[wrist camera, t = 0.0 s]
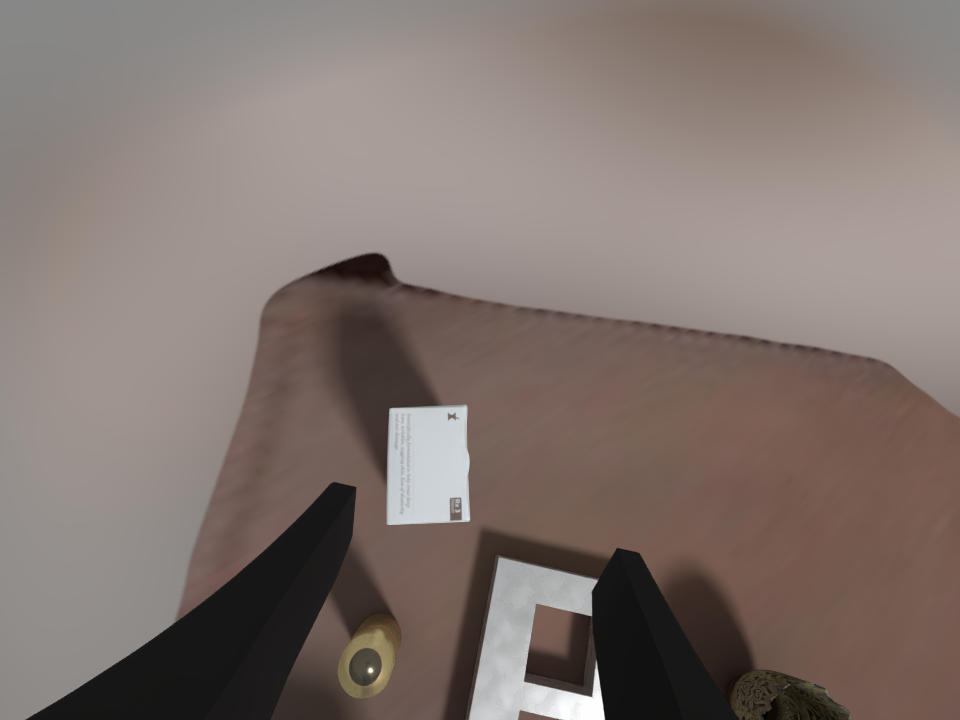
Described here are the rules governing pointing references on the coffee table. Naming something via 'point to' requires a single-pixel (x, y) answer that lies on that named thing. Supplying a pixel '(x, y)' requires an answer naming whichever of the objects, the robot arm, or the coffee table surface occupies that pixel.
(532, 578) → the jig plate
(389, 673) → the brass sleeve
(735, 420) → the coffee table surface
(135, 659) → the robot arm
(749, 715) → the cup
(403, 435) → the skincare box
